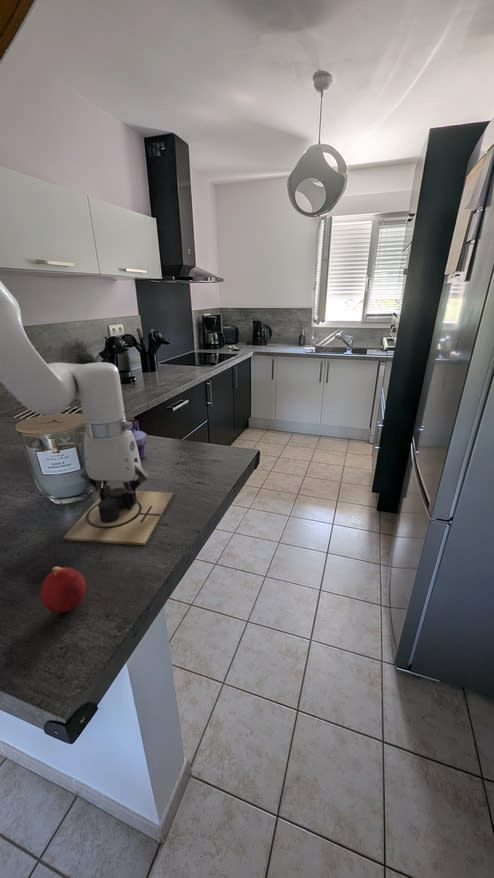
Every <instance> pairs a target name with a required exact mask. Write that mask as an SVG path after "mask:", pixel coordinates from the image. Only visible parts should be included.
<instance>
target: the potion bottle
mask: <svg viewBox="0 0 494 878" xmlns="http://www.w3.org/2000/svg"><path fill="white" fill-rule="evenodd" d="M126 418H127V421H128V422H132V423H133V428H132V429H127V430H131V431H132V433H133V436H134V439H135V441H136V445H137V448H138V452H139V457H140V462H142V460H144V457H145V456H144V453H145V445H146V442H147V435H148V434H147V433H146V432H144V431H143V430H136V429H137V428H139V426H138V422H137V421H136V420H135V417H129V416H128V417H126Z"/></svg>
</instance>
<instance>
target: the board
mask: <svg viewBox="0 0 494 878" xmlns="http://www.w3.org/2000/svg"><path fill="white" fill-rule="evenodd" d="M112 489H113V488H112ZM112 489H111V490H112ZM126 492H127V491H126ZM173 496H174V492H167V491H166V492H165V491H150V490H149V491H147V490H136V497H137V502H136V504H135V505H134V506H133V507H132V509H131V510H128V509H127V507H126V508H125V509H123V510H119V518H118V519H117V520H116V521H114V522H111V523H103V522H102V521H101V518H100V513H99V507H98V504H99V502H100V501H101V500H100V497H99V498H97V499H96V501H95V502H94V503H93V504H92V505H91V506H90V507H89V508H88V509H87V510H86V512H84V514H83V515H81V517H80V518H79V519H78V520H77V521H76V523H74V525H73V526H72V527H71V528H70V529H69V530H68V531H67V532H66V533H65V534H64V536H63V537H62V539H63V541H73V542H74V541H75V542H89V543H104V544H117V545H131V546H146V545H147V542H148V540H149V539H150V537H151V535H152V534H153V532H154V530H155V528H156V527H157V525H158V523H159V522H160V519H161V518H162V516H163V514H164V512H165V511H166V509H167V507H168V505H169V503H170V502H171V500H172V498H173Z"/></svg>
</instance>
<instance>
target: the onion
mask: <svg viewBox="0 0 494 878" xmlns="http://www.w3.org/2000/svg"><path fill="white" fill-rule="evenodd" d="M86 590H87V584H86V580H85V578H84V576H83V574H82V573H81V572H79V571H78V570H77V569H75V568H73V567H68V566H67V567H66V566H65V567H64V566H63V567H60V566H53V568H51V571H50V573H49V574H48V575H47V576H46V577H45V578H44V580H43V581H42V583H41V587H40V590H39V599H40V601H41V604H42V607H44V608H45V609H46V610H48V611H50V612H53V613H58V614H59V613H67V612H70V611H72V610H74V609H75V608H77V606H78V605H79V604H80V603H81V602H82V601H83V599H84V596H85V593H86Z"/></svg>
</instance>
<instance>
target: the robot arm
mask: <svg viewBox="0 0 494 878" xmlns="http://www.w3.org/2000/svg"><path fill="white" fill-rule="evenodd" d="M120 377H121V376H120V372H119V369H118V367H117V366H116V365H115V364H113V363H111V362H105V361H104V362H101V361H100V362H88V363H83V364H82V363H69V362H50V363H47V362H46V361H45V360H44V358H42V356H41V355H40V353H39V352H38V351H37V349H36V348H35V347H34V345H33V344H32V343H31V340H30V339H29V337H28V336H27V333H26V331H25V329H24V325H23V321H22V311H21V308H20V305H19V302H18V301H17V299H16V298H15V296H14V295H13V294H12V293H11V292H10V291H9V290H8V288H7V287H6V285H4V283H3V282H2V281H1V280H0V383H1V384H2V385H3V386H4V388H5V389H7V390H8V392H9V393H10V394H11V395H12V396H13V397H14V398H15V399H16V400H17V401H18V402H19V403H21V405H23V406H24V407H25V408H26V409H28V410H30V411H31V412H32V413H35V414H37V415H41V416H48V417H49V416H55V415H58V414H61V413H62V412H64V411H65V410H67V408H68V407H69V405H70V404H72V402H73V401H75V400H79V401H80V406H81V411H82V416H83V421H84V427H85V434H84V435H83V436H84V438H83V454H84V456H83V457H84V464H85V467H84V468H83V470H82V472H81V474H80V478H81V479H84V481H86V482H88V483H89V485H90V486H92V487H93V488H94V489H95V492H96V493H99V494H98V495H99V498H100V500H101V501H102V500H104V499H108V498H109V495H108V493H109V491H110V490H111V486H110V485H108V482H122V485H123V488H125V489H126V491H127V492H126V493H125V500H126V507H127V509H128V510H131V509H132V507H133V506H134V505H135V504H136V502H137V497H136V491H137V488H139V486H141V485H142V484H143V483H146V481H148V479H149V478H150V475H149V473H147V471H146V470H145V469H144V468H143V467H142V463H141V462H142V461H140V457H139V452H138V448H137V445H136V441H135V439H134V436H133V433H132V431H131V430H127V429H132V428H133V423H132V422H128V421H127V418H128V417H126V411H125V406H124V398H123V391H122V384H121V378H120ZM135 474H136V475H137V477H138V478H136V479H135Z"/></svg>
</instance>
